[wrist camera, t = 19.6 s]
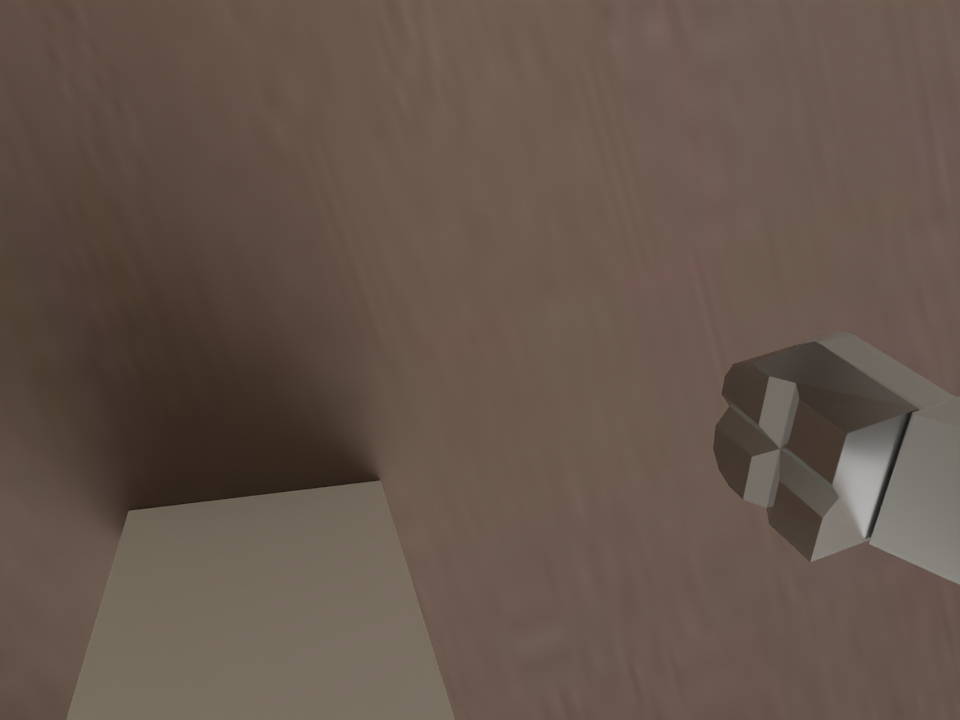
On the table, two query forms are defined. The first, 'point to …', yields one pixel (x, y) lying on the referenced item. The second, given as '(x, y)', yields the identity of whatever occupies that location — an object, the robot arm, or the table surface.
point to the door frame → (261, 615)
